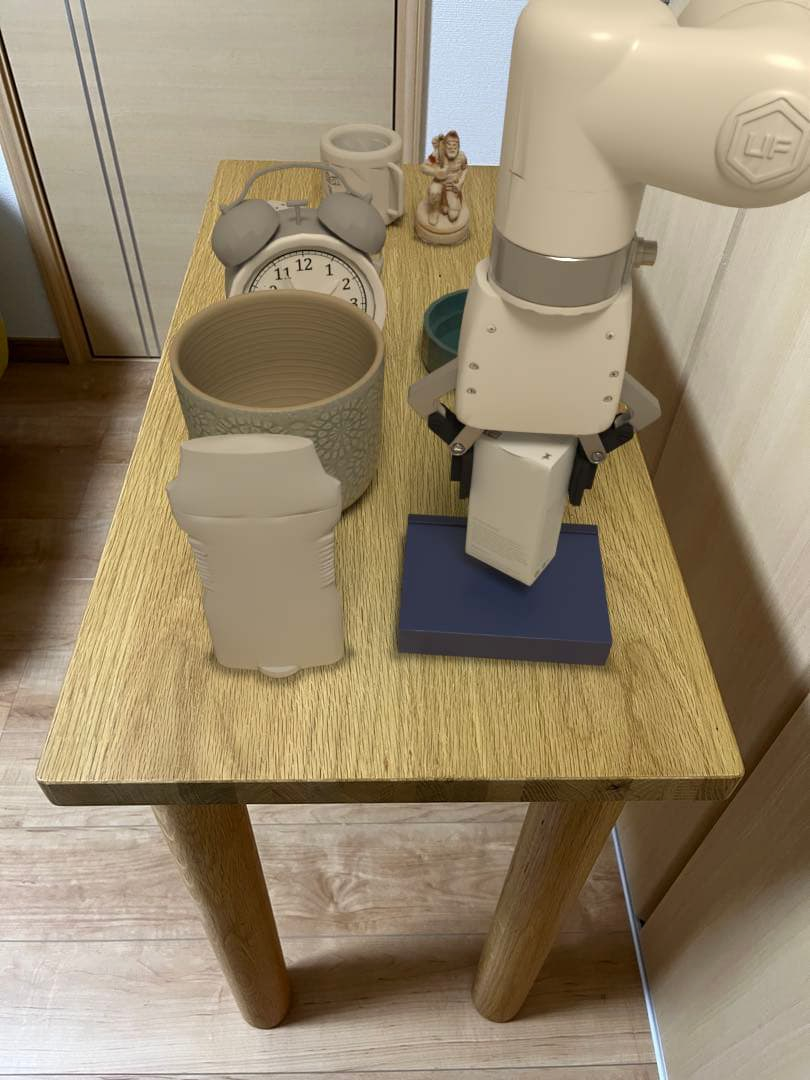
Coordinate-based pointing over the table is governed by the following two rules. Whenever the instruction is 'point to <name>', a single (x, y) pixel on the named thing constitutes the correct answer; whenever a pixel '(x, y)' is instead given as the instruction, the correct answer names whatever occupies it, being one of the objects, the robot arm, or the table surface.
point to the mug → (365, 165)
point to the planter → (287, 376)
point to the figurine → (444, 194)
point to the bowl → (443, 329)
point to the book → (502, 599)
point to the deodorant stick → (263, 548)
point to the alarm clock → (304, 245)
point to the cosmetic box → (518, 499)
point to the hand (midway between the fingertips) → (518, 487)
